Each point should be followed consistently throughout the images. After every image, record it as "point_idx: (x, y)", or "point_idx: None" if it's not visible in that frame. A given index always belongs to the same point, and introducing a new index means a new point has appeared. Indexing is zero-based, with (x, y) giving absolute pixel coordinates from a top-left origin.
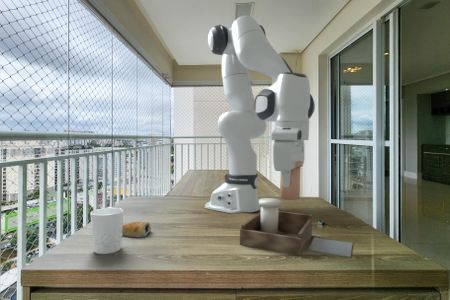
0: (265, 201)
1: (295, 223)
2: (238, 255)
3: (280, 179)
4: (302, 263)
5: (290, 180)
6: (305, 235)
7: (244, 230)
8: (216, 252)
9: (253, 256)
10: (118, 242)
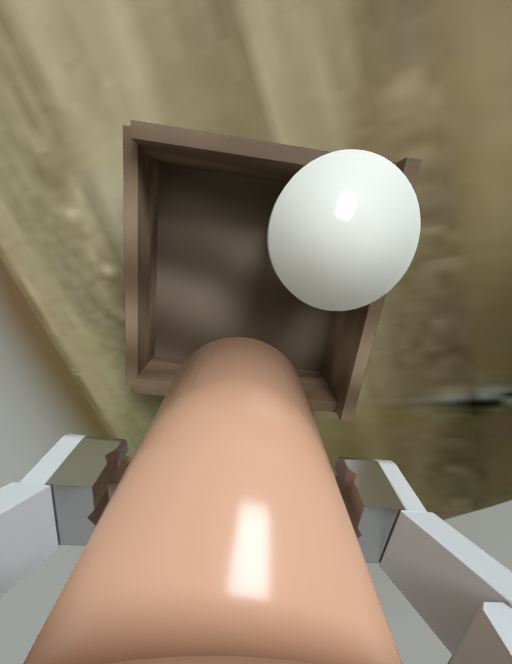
0: (305, 213)
1: (341, 343)
2: (72, 170)
3: (192, 419)
4: (113, 367)
5: (77, 539)
6: None
7: (123, 152)
8: (54, 70)
9: (90, 225)
10: None
